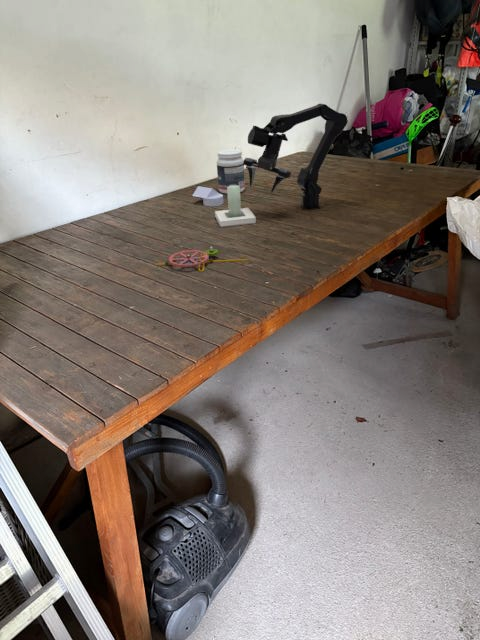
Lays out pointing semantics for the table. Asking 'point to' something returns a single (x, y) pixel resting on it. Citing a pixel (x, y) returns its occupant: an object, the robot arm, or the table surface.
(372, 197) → the table surface
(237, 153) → the supplement tub
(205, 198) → the wedge on round base
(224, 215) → the socket block
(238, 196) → the green post
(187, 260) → the mechanical gear assembly
